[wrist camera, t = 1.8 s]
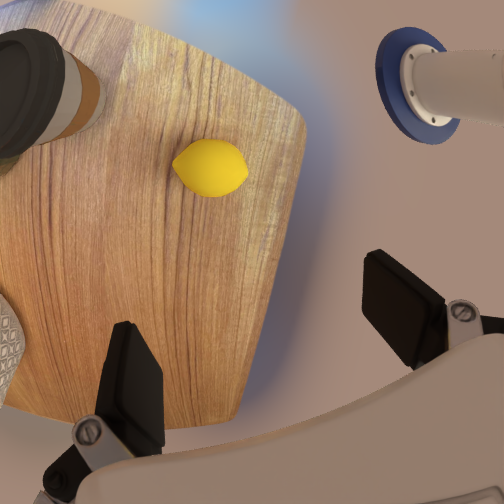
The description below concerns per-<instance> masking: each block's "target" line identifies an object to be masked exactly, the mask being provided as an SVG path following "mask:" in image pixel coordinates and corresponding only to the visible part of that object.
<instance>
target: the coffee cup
mask: <svg viewBox="0 0 504 504" xmlns="http://www.w3.org/2000/svg"><path fill="white" fill-rule="evenodd" d="M105 100H106V92H105V88H104V85H103V83H102V82H101V80H100V79H99V78H98V77H97V76H96V75H95V74H94V73H93V71H91V70H90V69H89V68H88V67H87V66H85V65H84V64H83V63H82V62H81V61H80V60H78V59H77V58H76V57H75V56H74V55H72V54H71V53H69V52H67V51H66V50H64V49H63V48H62V47H61V46H60V45H59V43H58V42H57V40H56V39H55V38H54V37H53V36H51V35H49V34H48V33H46V32H41V31H39V30H36V29H27V28H23V29H20V30H16V31H9V32H6V33H3V34H0V159H10V158H12V157H14V156H17V155H19V154H22V153H23V152H24V151H25V150H27V149H28V148H30V147H33V146H36V145H42V144H45V143H48V142H51V141H55V140H58V139H61V138H64V137H67V136H71V135H73V134H75V133H79V132H82V131H84V130H86V129H88V128H89V127H91V126H92V125H93V124H94V123H95V122H96V121H97V119H98V118H99V116H100V115H101V113H102V111H103V108H104V106H105Z"/></svg>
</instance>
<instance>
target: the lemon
mask: <svg viewBox="0 0 504 504" xmlns="http://www.w3.org/2000/svg"><path fill="white" fill-rule="evenodd" d="M172 166H173V168H174V170H175V171H176V173H177V174H178V176H179V177H180V179H181V180H182V182H183V183H184V185H185V186H187V187H188V188H189V189H190V190H191V191H193V192H194V193H196V194H198V195H200V196H202V197H220V196H225V195H227V194H229V193H231V192H233V191H235V190H236V189H237V188H238V187H239V186H240V185H241V184H242V183H243V181H244V180H245V179H246V178H247V176H248V169H247V166H246V162H245V160H244V158H243V156H242V154H241V152H240V151H239V150H238V149H237V148H236V147H235V146H233V145H231V144H230V143H228V142H226V141H224V140H216V139H200V140H198V141H196V142H193V143H191V144H190V145H189V146H188V147H187V148H186V149H185V150H183V151H182V152H181V153H180V154H179V155H178V156H177V157H176V159H175V160H174V161H173V163H172Z"/></svg>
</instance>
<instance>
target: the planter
mask: <svg viewBox="0 0 504 504" xmlns="http://www.w3.org/2000/svg"><path fill="white" fill-rule="evenodd" d="M24 350H25V337H24V332H23V330H22V327H21V324H20V322H19V320H18V318H17V316H16V314H15V313H14V311H13V309H12V308H11V306H10V305H9V303H8V302H7V301H6V300H5V298H4V297H3V296H2V295H1V294H0V409H1V407H2V404H3V401H4V398H5V396H6V393H7V390H8V388H9V385H10V383H11V380H12V378H13V376H14V373H15V371H16V369H17V366H18V364H19V362H20V360H21V358H22V355H23V353H24Z"/></svg>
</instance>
